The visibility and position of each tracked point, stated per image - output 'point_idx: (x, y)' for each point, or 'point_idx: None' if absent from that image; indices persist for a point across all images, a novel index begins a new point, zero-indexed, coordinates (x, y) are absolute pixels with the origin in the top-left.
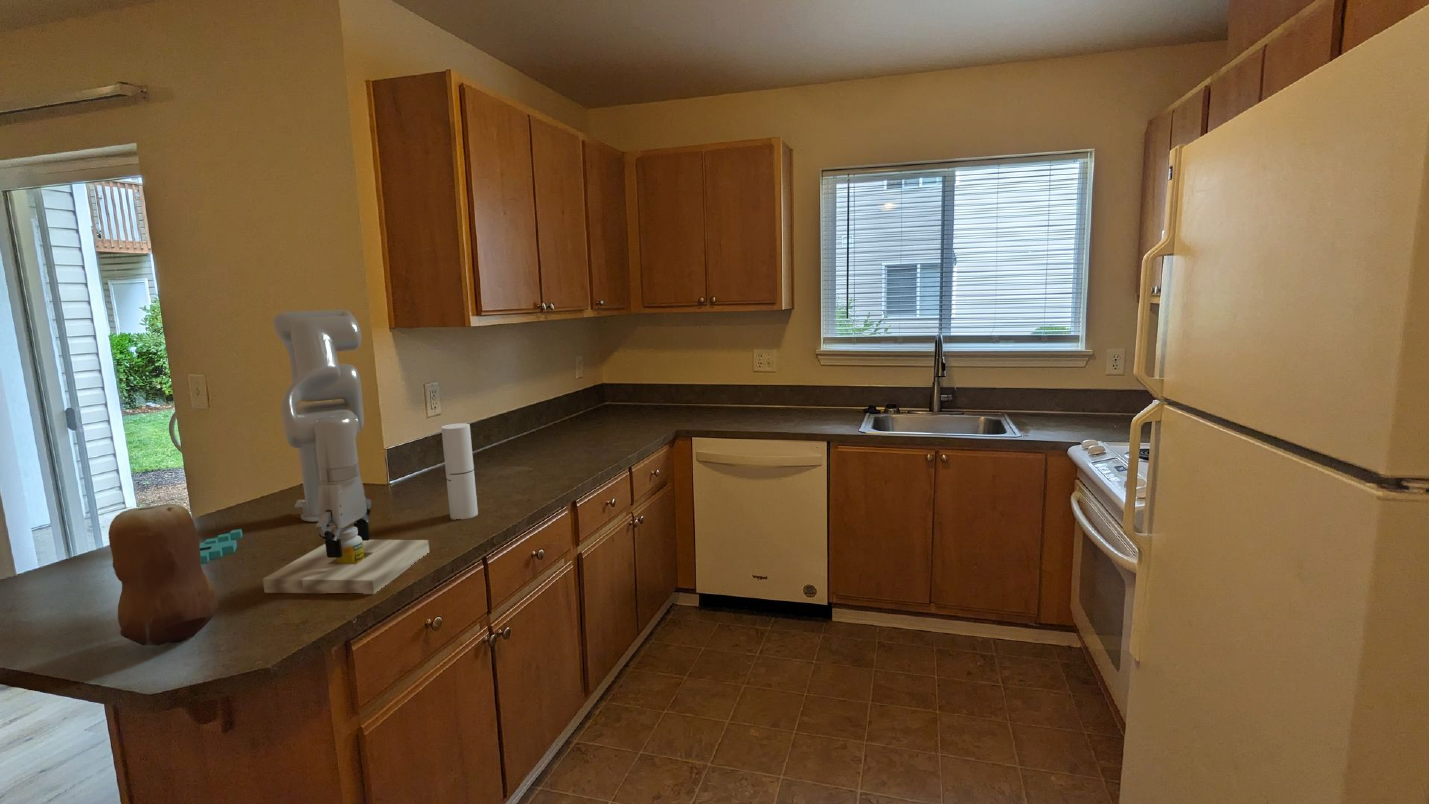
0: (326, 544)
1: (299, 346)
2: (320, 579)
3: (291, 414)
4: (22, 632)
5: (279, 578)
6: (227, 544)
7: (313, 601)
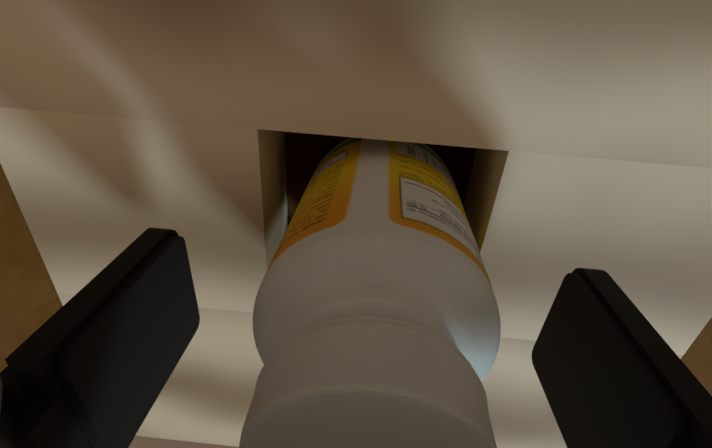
0: (64, 319)
1: None
2: (31, 232)
3: None
4: None
5: None
6: None
7: (15, 198)
